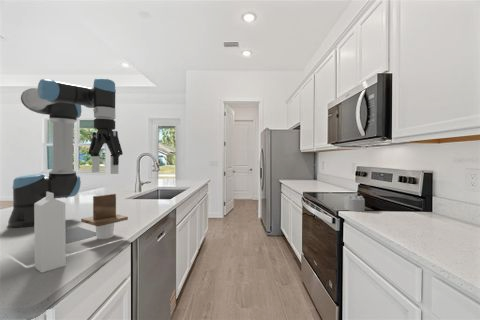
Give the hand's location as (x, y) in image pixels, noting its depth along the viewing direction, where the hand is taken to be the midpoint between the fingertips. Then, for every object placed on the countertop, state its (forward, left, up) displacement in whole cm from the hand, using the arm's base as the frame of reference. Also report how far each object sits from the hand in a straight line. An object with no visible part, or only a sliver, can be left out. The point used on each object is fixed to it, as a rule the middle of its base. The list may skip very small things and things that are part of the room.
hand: (104, 173), depth 100 cm
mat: (-14, -6, -26) cm, 30 cm away
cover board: (0, 0, -19) cm, 19 cm away
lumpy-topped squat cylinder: (+74, +117, -26) cm, 141 cm away
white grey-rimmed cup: (0, 0, -26) cm, 26 cm away
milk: (+12, -23, -26) cm, 37 cm away
